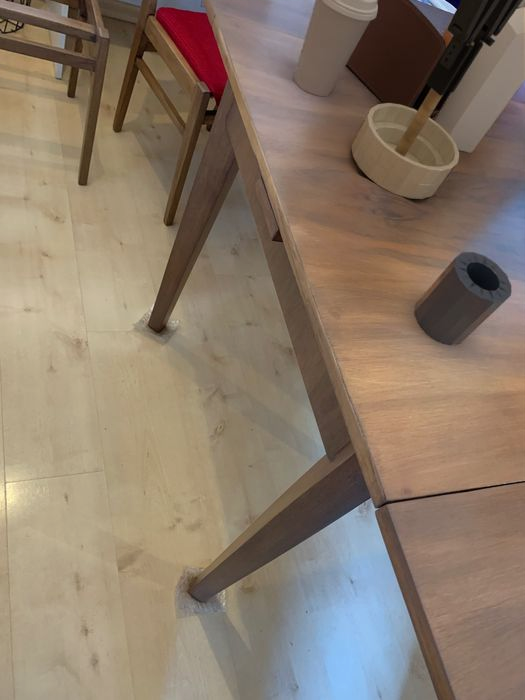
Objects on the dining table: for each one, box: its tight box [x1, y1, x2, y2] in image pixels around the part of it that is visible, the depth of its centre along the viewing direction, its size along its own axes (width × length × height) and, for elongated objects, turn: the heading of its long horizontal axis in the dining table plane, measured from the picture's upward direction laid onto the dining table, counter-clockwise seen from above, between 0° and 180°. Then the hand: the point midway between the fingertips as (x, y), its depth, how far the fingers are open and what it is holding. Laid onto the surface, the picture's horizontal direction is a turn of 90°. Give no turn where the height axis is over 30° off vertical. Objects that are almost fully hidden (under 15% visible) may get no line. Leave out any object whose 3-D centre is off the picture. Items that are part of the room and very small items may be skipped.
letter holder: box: [345, 0, 452, 118], centre depth 93 cm, size 10×20×14 cm, turn 35°
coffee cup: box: [293, 0, 378, 97], centre depth 85 cm, size 10×10×15 cm
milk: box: [434, 7, 525, 154], centre depth 86 cm, size 6×6×22 cm
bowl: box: [351, 103, 460, 200], centre depth 81 cm, size 14×14×6 cm
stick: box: [395, 41, 474, 157], centre depth 76 cm, size 2×2×18 cm
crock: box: [414, 251, 512, 346], centre depth 64 cm, size 7×7×9 cm
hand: (439, 87), depth 74 cm, fingers closed on stick, 2 cm apart
